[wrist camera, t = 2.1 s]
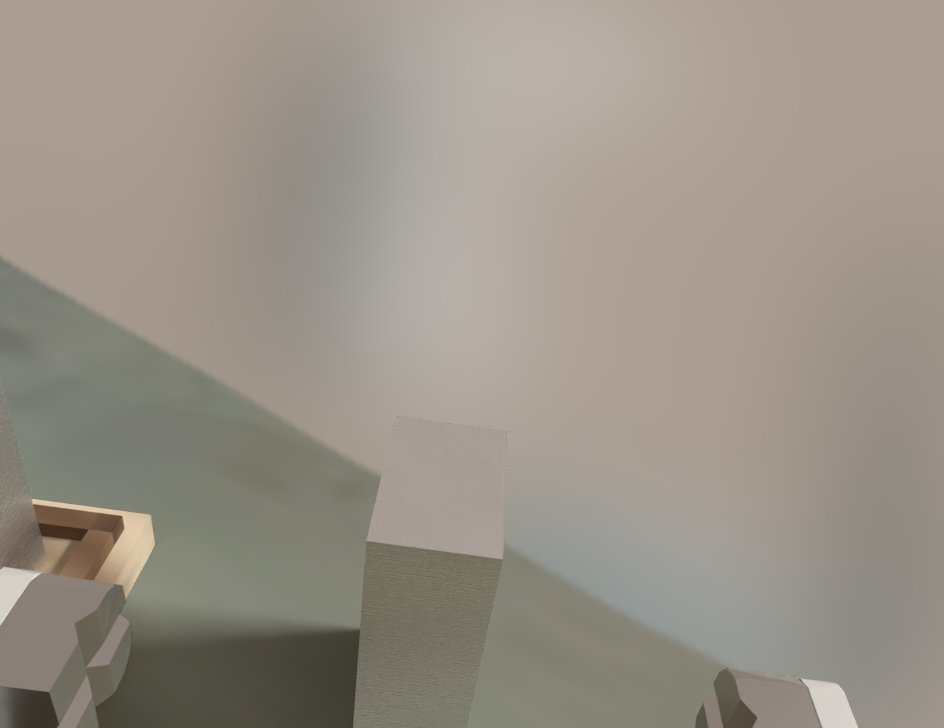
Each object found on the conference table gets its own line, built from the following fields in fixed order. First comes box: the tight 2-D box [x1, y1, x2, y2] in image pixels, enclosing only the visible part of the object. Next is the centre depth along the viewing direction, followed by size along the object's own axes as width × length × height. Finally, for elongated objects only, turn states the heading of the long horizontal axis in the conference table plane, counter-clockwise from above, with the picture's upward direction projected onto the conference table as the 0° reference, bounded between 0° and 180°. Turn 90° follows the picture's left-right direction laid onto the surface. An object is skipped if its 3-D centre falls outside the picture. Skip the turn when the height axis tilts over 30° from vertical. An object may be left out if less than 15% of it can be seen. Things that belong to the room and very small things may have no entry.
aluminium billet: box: [353, 416, 507, 728], centre depth 28 cm, size 6×4×12 cm, turn 177°
